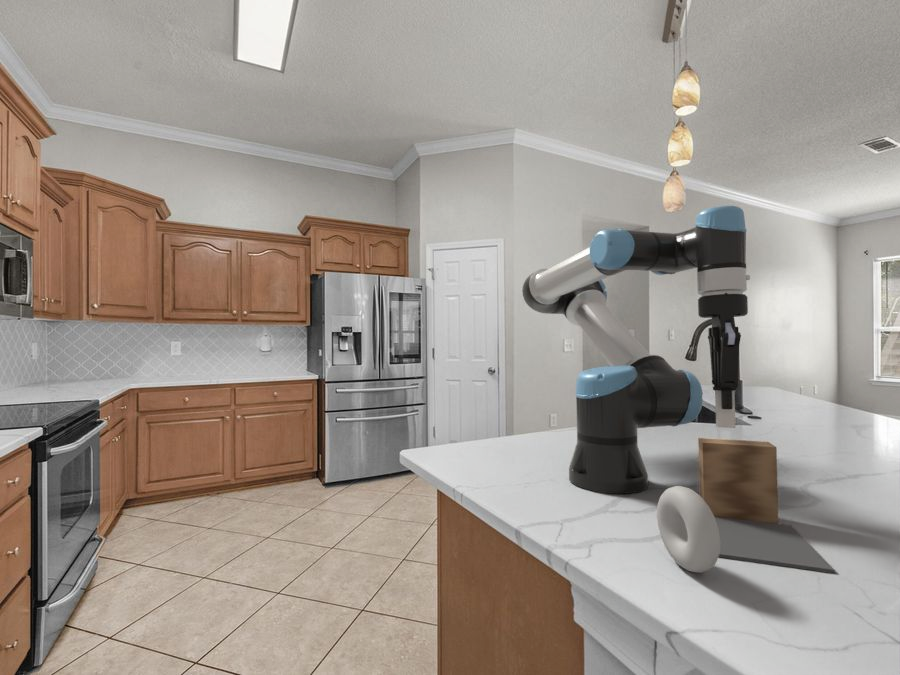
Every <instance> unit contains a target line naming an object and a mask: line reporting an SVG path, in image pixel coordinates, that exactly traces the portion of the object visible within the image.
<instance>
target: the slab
mask: <svg viewBox="0 0 900 675" xmlns="http://www.w3.org/2000/svg"><path fill="white" fill-rule="evenodd" d="M697 442H698V443H697V444H698V446H697V448H698V479H699V480H698V485H699V486H698V488H699V489H698V491H699V494H698V495H700V496H701V497H702V498H703V500H704V501H705V502H706V503H707V505H708V506H709V508H710V509H711V511H712V513H713V515H714V517H723V518H732V519H741V520H750V521H759V522H768V523H777V524H779V500H778V498H779V495H778V490H779V489H778V458H777V457H778V456H777V454H778V453H777V446H775V445H774V444H772V443H771V442H769V441H761V440H742V439H727V438H726V439H725V438H709V437H698V440H697Z"/></svg>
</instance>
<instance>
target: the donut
mask: <svg viewBox="0 0 900 675" xmlns="http://www.w3.org/2000/svg"><path fill="white" fill-rule="evenodd" d="M657 502H658V503H657V508H656V509H657V510H656V520H657V526H658V530H659V534H660V538H661V540H662V543H663V545H664V547H665V549H666V550H667V552H668V554H669V556H670V558H672V559H673V561H674V562H675V563H676V564H677V565H679V566H680V567H681V568H683V569H685V570H687V571H689V572H690V573H705V572H708V571H710V569H712V568H713V567H714V566H715V565H716V564H717V562H718V559H719V558H720V557H719V554H720V543H721V542H720V535H719V529H718V526H717V523H716V520H715V517H714V515H713V513H712V511H711V509H710V508H709V506H708V505H707V503H706V502H705V501H704V500H703V498H702V497H701V496H700V495H699V494H698V493H697V492H696V491H694V490H693V489H691V488H689V487H685V486H681V485H675V486H672V487H669V488H667V489H665V490H664V492H663V493H662V494H661V495H660V497H659V499H658V501H657Z"/></svg>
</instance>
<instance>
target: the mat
mask: <svg viewBox="0 0 900 675" xmlns="http://www.w3.org/2000/svg"><path fill="white" fill-rule="evenodd" d="M715 520H716V523H717V526H718V529H719V535H720V542H721V543H720V554H719V557H718V558H722V559H725V558H726V559H731V560H739V561H747V562H753V563H760V564H766V565H767V564H768V565H772V566H773V565H774V566H780V567H781V566H782V567H788V568H795V569H803V570H810V571H815V572H824V573H831V574H835V573H836V570H835V569H834V567H833V566H832V565H831V564H829V562H828V561H826V560H825V558H824V557H823V556H822V555H821V554H820V553H819V552H818V551H817V550H816V549H815V548H814V546H812V545H811V543H809V542H808V541H807V540H806V539H805V538H804V536H802V535H801V533H800V532H799V531H797V529H796V528H795V527H794V526H793V525H792V524H784V523H778V524H777V523H768V522H759V521H750V520H741V519H732V518H723V517H715Z"/></svg>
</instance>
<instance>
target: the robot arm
mask: <svg viewBox="0 0 900 675" xmlns="http://www.w3.org/2000/svg"><path fill="white" fill-rule="evenodd" d="M694 226H695V227H693V228H690V229H686V230H684V231H681V232H677V233H669V232H660V231H659V232H657V231H656V232H655V231H641V230H631V229H623V228H612V229H611V228H610V229H607V228H606V229H602V230H600V231H598V232H596V233H595V235H594V238H592V240H591V241H590V246H588V247H587V248H585V249H584V250H582V251H580V252H578V253H576V254H573V255H572V256H571V257H570V256H569V257H568V258H567V259H566V258H565V260H563V261H561V262H559V263H558V264H555V265H553V266H551V267H549V268H540V269H538V270H536V271H534V272H532V273H531V274H529V275H528V277H526V279H525V280H524V283H523V285H522V291H521V292H522V297H523V300H524V302H525V303H526V305H527V306H528V307H529V308H531V310H534V311H535V312H537V313H541V314H546V315H548V314H549V315H551V314H552V315H553V314H554V315H557V314H558V315H563V316H564V317H565V318H566V319H567V321H568V322H569V323H570V324H572V325H574V326H578V327H580V329H582V331H583V332H584V334H585V335H586V336H587V337H588V339H589V340H590V341H591V343H592V344H593V345H594V346H595V348H596V349H597V350H598V351H599V353H600V354H601V355H602V357H603V358H604V359H605V360H606V362H607V364H608V365H609V366H600V367H593V368H590V369H585V370H582V371H581V372H580V373H579V374H578V375H577V377H576V385H575V392H574V394H575V398H576V438H577V439H576V445H575V448H574V451H573V455H572V458H571V460H570V463H569V467H568V480H569V481H570V483H571V484H573V485H575V486H576V487H580V488H581V489H585V490H589V491H593V492H599V493H606V494H607V493H608V494H631V493H632V494H633V493H639V492H642V491H644V490H646V489H647V488H648V487H649V475H648V471H647V469H646V466H645V463H644V461H643V456H642V455H641V450H640V449H639V446H638V445H639V444H638V429H645V428H657V427H659V428H660V427H677V426H680V425H682V426H683V425H687V424H690V423H691V422H693V421H694V420H696V418H698V416H699V414H700V413H701V410H702V408H703V401H704V399H703V389H702V385H701V383H700V380H699V379H698V378H697V376H696V375H695V374H693V373H692V372H690V371H688V370H685V369H677V370H676V369H674V368H673V367H672V366H671V365H670V363H668V361H666V359H664V357H662V356H660V355H659V354H651V353H650V352H649V351H648V350H647V349H646V348H645V347H644V346H643V345H642V344H641V342H639V340H638V339H637V338H636V337H635V336H634V335H633V334H632V332H631V331H629V329H628V328H627V327H626V326H625V325H624V324H623V323H622V322H621V320H620V319H619V318H618V317H617V316H616V314H615V313H613V312H612V311H611V310H610V308H609V307H608V306H607V298H608V297H607V296H608V291H606V285H605V283H604V282H603V279H607V278H609V277H611V276H614V275H617V274H621V273H623V272H624V271H645V272H646V271H647V272H648V271H650V272H652V273H653V274H655V275H659V276H663V275H674V274H676V273H679V272H684V271H688V270H692V269H696V272H697V273H696V281H697V282H696V286H697V287H696V288H697V295H699V296H700V297H698V298H699V299H697V308H698V309H697V312H698V313H697V314H698V317H699V318H702V319H709V318H710V319H711V327H708V336H707V339H708V344H709V345H708V346H709V354H710V369H711V383H712V385H713V386H712V391H714V397H715V400H714V401H715V427H717V428H727V429H728V428H730V429H736V400H735V399H736V398H735V396H736V395H735V391H736V390H737V389H738V387H739V361H740V357H739V356H740V343H741V337H742V335H741V332H740V331H739V326H736V322H735V321H736V320H735V318H737V317H738V318H739V317H740V318H741V317H744V316H747V315H748V313H749V311H748V309H749V308H748V307H749V305H748V302H749V301H748V296H747V295H746V294H743V293H745V292H746V291H747V290H748V287H747V281H750V280H751V275H750V274H747V262H746V260H747V258H746V255H747V254H746V250H747V248H746V246H747V243H746V242H747V237H746V236H747V229H746V221H745V213H744V210H743V208H741V207H739V206H738V205H737V206H735V205H720V206H719V205H718V206H713V207H709V208H706V209H703V210H701V211H700V212H699V213H697V215H696V216H695V223H694Z"/></svg>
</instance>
